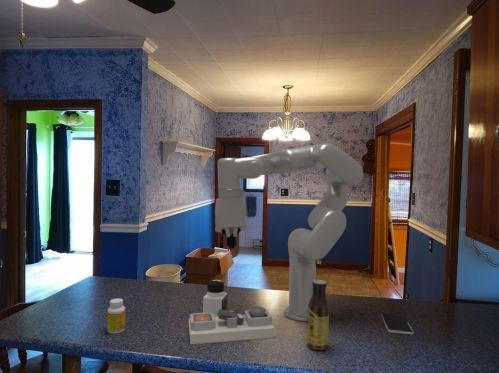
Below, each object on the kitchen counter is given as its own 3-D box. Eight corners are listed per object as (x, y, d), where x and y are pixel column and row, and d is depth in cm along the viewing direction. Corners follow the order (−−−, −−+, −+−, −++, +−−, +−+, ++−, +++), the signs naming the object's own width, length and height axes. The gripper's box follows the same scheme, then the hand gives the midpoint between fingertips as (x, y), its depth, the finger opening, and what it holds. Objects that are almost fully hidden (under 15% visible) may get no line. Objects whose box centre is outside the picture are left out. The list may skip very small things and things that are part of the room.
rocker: (240, 319, 118) (241, 314, 118) (242, 324, 114) (244, 319, 114) (217, 313, 116) (218, 308, 116) (218, 318, 112) (220, 313, 112)
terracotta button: (209, 321, 116) (209, 313, 116) (211, 327, 111) (211, 320, 111) (194, 322, 115) (194, 314, 115) (194, 329, 110) (195, 321, 110)
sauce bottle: (305, 341, 110) (306, 277, 109) (325, 342, 110) (327, 277, 109) (308, 351, 103) (309, 283, 103) (329, 352, 103) (331, 284, 102)
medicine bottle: (221, 318, 126) (222, 285, 125) (202, 316, 127) (203, 283, 127) (227, 311, 133) (227, 279, 132) (208, 309, 134) (209, 277, 134)
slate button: (263, 313, 120) (263, 306, 120) (267, 319, 115) (267, 311, 115) (248, 314, 119) (248, 306, 119) (252, 320, 114) (252, 312, 114)
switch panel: (264, 322, 124) (265, 305, 123) (274, 337, 112) (274, 319, 112) (188, 327, 118) (188, 310, 118) (190, 344, 106) (190, 325, 106)
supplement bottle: (108, 335, 112) (108, 304, 111) (106, 328, 116) (106, 299, 116) (126, 332, 114) (126, 302, 114) (123, 325, 119) (123, 296, 118)
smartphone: (403, 315, 131) (414, 332, 116) (403, 318, 131) (414, 335, 116) (380, 313, 132) (388, 329, 118) (380, 316, 132) (388, 333, 118)
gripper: (248, 192, 126) (250, 244, 127) (206, 194, 123) (208, 247, 124) (253, 194, 119) (255, 248, 120) (209, 196, 115) (211, 252, 116)
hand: (231, 247), depth 122 cm, fingers closed
